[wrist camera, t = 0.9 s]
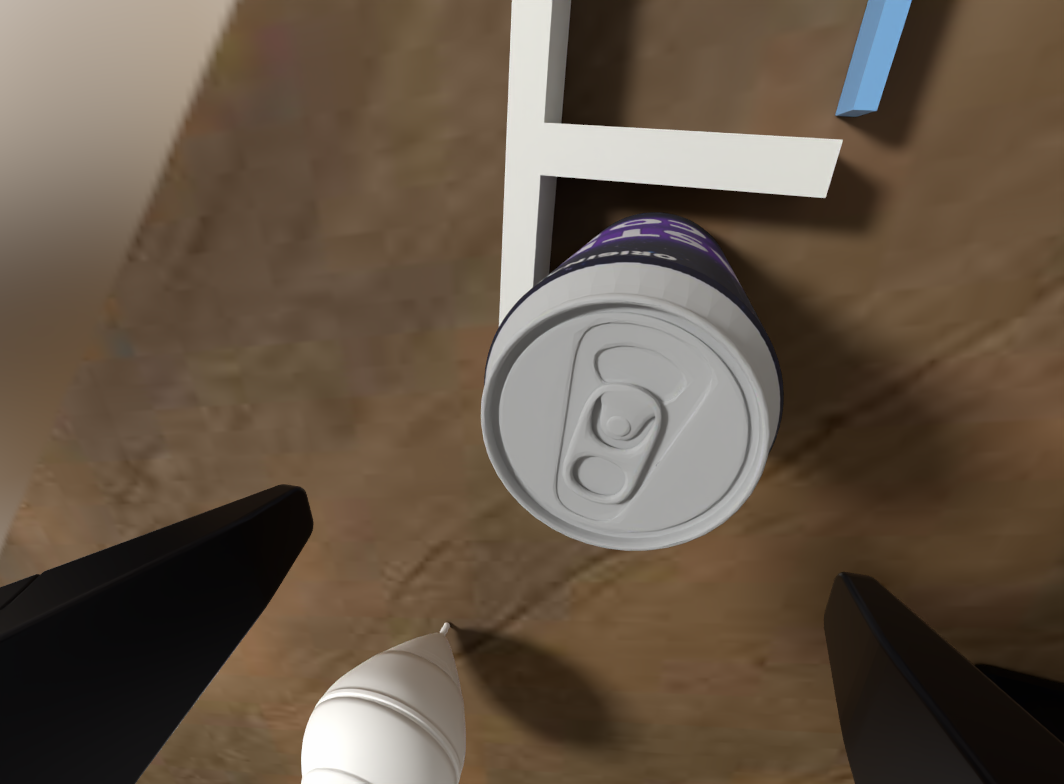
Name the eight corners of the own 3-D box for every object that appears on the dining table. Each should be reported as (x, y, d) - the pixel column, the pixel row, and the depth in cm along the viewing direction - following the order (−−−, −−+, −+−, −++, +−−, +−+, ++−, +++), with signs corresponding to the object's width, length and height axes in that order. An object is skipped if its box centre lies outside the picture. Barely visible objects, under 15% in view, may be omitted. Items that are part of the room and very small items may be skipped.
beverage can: (756, 237, 17) (878, 344, 7) (692, 377, 20) (707, 611, 9) (603, 190, 18) (497, 220, 8) (560, 331, 21) (436, 501, 10)
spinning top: (520, 674, 30) (434, 948, 20) (410, 663, 32) (282, 901, 22) (491, 576, 27) (374, 831, 17) (374, 571, 30) (208, 792, 19)
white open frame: (974, -275, 12) (1042, -376, 10) (760, 433, 20) (770, 465, 18) (548, -233, 14) (524, -308, 12) (513, 389, 22) (495, 413, 20)
